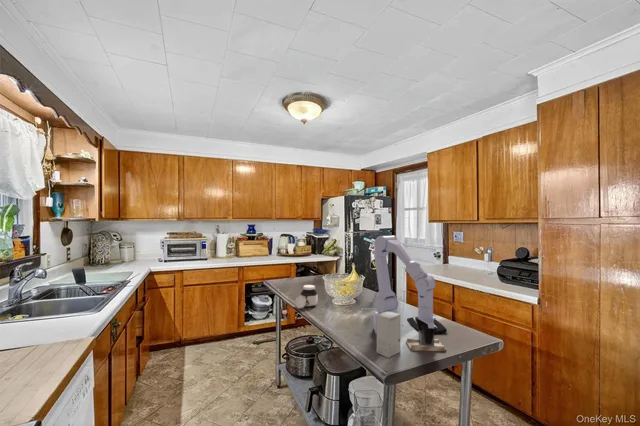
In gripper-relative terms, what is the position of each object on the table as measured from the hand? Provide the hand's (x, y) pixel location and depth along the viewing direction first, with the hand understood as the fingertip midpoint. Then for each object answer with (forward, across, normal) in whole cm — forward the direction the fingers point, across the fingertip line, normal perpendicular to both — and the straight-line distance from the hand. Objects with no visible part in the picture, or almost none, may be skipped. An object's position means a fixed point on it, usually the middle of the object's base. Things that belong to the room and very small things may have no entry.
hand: (425, 339), depth 118 cm
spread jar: (+3, +49, +53) cm, 73 cm away
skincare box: (+3, -6, +16) cm, 17 cm away
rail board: (+3, 0, 0) cm, 3 cm away
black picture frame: (+3, +23, -7) cm, 24 cm away
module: (+2, 0, 0) cm, 2 cm away
